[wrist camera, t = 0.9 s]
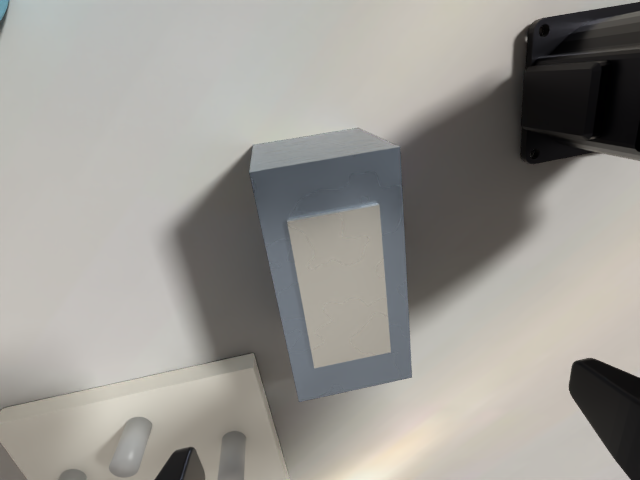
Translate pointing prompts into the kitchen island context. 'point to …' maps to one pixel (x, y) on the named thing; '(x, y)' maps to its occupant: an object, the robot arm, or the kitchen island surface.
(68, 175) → the kitchen island surface
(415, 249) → the kitchen island surface
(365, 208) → the block
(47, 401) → the cream pegged board
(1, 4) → the light blue box
